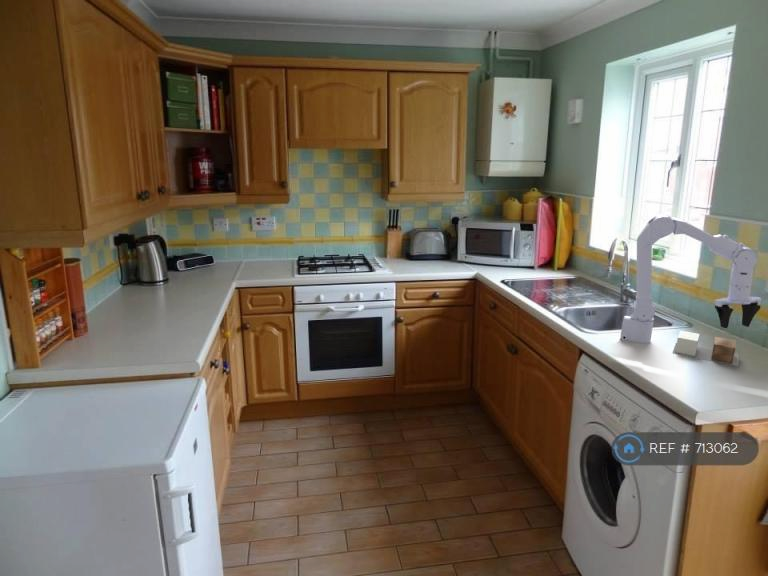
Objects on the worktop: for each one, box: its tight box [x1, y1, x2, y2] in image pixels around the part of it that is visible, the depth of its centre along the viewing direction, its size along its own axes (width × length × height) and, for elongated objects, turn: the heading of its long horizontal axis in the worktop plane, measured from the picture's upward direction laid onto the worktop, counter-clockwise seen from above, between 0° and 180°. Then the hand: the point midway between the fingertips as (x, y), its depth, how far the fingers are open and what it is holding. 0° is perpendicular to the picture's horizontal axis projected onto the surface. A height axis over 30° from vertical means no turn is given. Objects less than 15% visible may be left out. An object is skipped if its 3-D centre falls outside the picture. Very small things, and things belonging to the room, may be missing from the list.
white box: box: [675, 330, 700, 356], centre depth 173 cm, size 6×9×5 cm, turn 147°
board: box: [672, 342, 740, 367], centre depth 171 cm, size 18×12×1 cm, turn 57°
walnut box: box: [711, 336, 737, 363], centre depth 168 cm, size 6×9×5 cm, turn 147°
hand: (734, 326), depth 171 cm, fingers open, 7 cm apart
